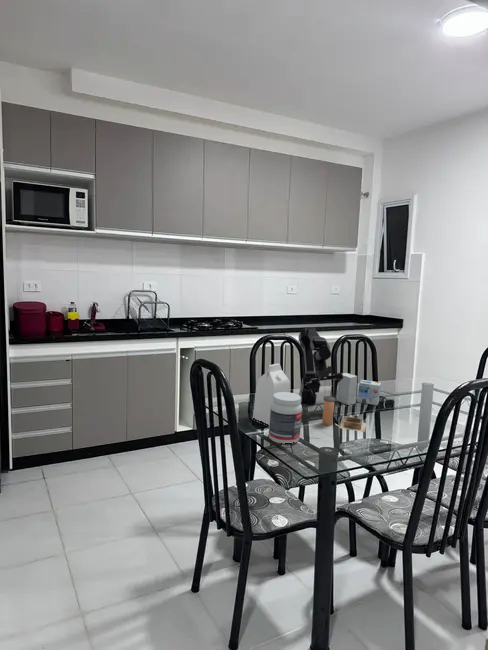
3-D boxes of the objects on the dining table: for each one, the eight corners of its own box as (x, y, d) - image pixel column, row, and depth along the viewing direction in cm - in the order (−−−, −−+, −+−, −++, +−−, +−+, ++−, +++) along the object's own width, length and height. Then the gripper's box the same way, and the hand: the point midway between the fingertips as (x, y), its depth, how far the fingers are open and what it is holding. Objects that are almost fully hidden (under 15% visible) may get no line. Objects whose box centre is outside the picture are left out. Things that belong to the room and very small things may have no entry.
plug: (319, 427, 203) (322, 398, 200) (323, 423, 207) (326, 395, 205) (330, 430, 200) (333, 400, 198) (334, 426, 204) (336, 397, 202)
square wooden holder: (338, 431, 200) (339, 422, 199) (341, 422, 210) (342, 414, 209) (364, 435, 196) (365, 426, 196) (365, 426, 207) (366, 417, 206)
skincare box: (355, 403, 237) (358, 376, 235) (347, 405, 234) (350, 377, 231) (344, 399, 244) (346, 372, 242) (335, 400, 241) (338, 373, 238)
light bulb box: (356, 402, 240) (358, 382, 239) (358, 398, 247) (360, 379, 245) (377, 405, 236) (379, 385, 235) (379, 401, 243) (381, 382, 241)
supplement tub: (302, 446, 182) (306, 401, 179) (270, 445, 181) (273, 400, 178) (296, 433, 195) (299, 391, 192) (266, 432, 194) (269, 390, 191)
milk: (270, 413, 216) (274, 360, 212) (289, 421, 208) (293, 365, 204) (252, 419, 208) (255, 363, 203) (271, 427, 200) (275, 369, 195)
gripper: (301, 363, 209) (306, 397, 205) (342, 358, 208) (347, 392, 204) (300, 367, 220) (304, 399, 216) (338, 363, 219) (344, 395, 215)
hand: (324, 397), depth 212 cm, fingers open, 9 cm apart
